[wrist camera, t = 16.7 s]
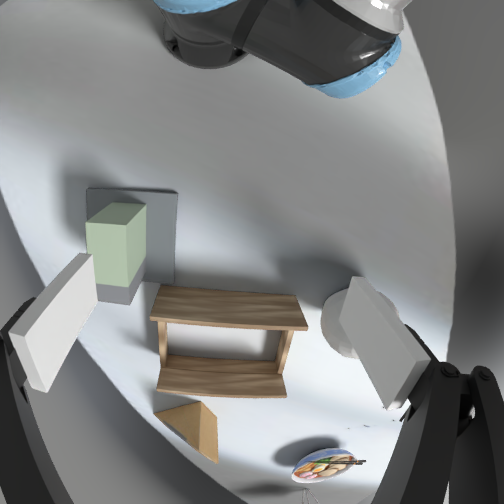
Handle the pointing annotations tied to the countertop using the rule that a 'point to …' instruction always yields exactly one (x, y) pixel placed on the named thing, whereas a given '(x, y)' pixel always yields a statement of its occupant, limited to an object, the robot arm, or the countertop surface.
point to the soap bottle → (333, 327)
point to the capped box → (118, 250)
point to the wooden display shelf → (230, 316)
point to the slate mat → (147, 226)
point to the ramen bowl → (324, 465)
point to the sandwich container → (194, 427)
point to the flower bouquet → (307, 496)
